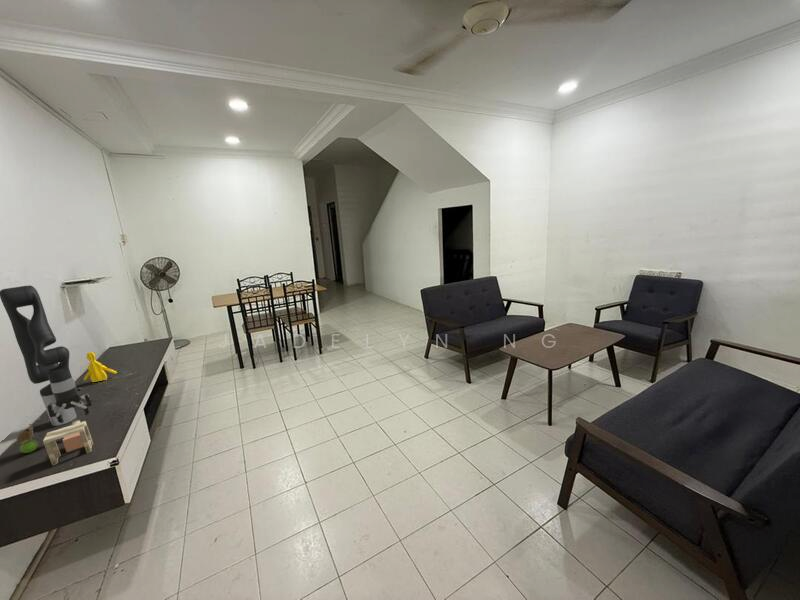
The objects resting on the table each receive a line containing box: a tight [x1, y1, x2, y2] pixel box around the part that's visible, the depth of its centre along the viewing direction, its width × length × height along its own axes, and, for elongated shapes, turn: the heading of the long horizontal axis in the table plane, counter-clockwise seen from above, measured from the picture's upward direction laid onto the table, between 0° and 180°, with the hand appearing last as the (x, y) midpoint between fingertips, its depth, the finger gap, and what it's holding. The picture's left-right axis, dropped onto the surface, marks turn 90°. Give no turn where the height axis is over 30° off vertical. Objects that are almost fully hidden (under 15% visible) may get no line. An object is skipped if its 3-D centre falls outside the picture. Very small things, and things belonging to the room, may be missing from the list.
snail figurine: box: [17, 423, 39, 454], centre depth 142 cm, size 5×6×12 cm
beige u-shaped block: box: [42, 420, 94, 466], centre depth 137 cm, size 8×12×12 cm, turn 129°
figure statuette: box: [83, 351, 118, 383], centre depth 211 cm, size 18×8×22 cm, turn 117°
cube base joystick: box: [62, 419, 85, 453], centre depth 147 cm, size 15×6×8 cm, turn 39°
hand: (74, 418), depth 151 cm, fingers open, 8 cm apart
